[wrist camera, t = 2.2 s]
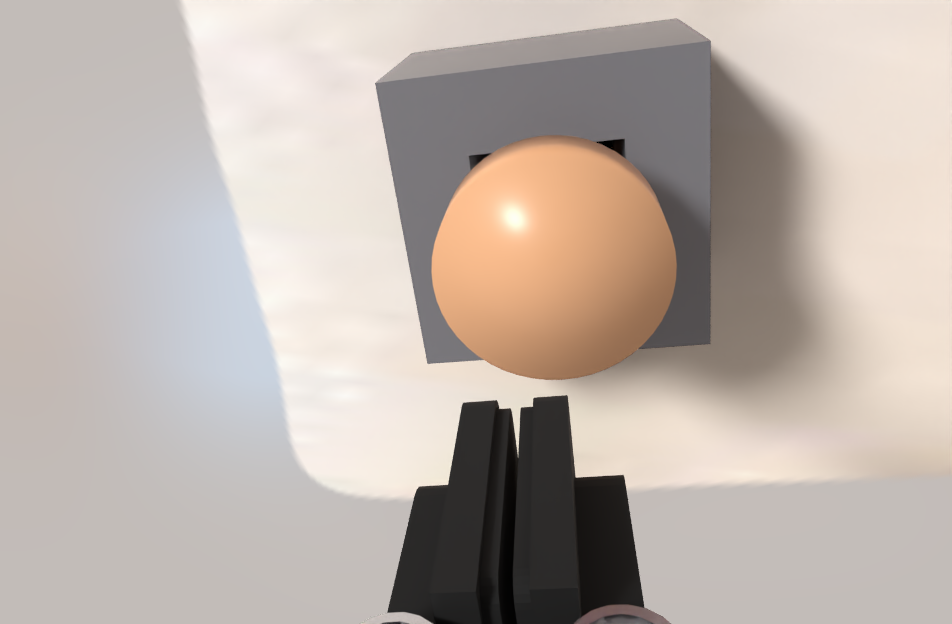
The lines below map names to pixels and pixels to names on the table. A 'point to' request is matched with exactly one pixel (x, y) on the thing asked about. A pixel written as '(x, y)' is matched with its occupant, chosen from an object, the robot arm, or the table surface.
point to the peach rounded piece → (554, 259)
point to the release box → (558, 113)
